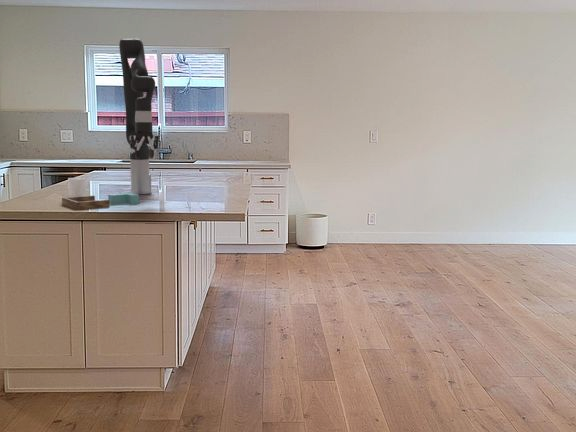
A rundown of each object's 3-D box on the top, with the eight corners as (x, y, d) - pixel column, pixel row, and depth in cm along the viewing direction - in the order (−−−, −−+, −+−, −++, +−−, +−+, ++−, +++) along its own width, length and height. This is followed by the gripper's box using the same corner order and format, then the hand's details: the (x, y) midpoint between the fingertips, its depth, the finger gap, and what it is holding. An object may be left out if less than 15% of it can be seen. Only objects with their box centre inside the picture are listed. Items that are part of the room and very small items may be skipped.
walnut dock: (93, 202, 277) (93, 195, 276) (109, 206, 264) (109, 200, 263) (62, 204, 268) (61, 197, 268) (76, 209, 255) (76, 202, 254)
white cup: (90, 199, 285) (89, 178, 283) (79, 201, 278) (78, 179, 276) (76, 198, 288) (75, 177, 286) (64, 200, 280) (64, 178, 279)
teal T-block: (127, 200, 284) (127, 192, 284) (139, 203, 275) (139, 194, 274) (104, 202, 277) (104, 193, 277) (115, 205, 268) (115, 196, 268)
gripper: (154, 121, 285) (155, 157, 288) (125, 121, 276) (126, 158, 279) (162, 121, 279) (162, 158, 282) (132, 121, 270) (133, 159, 273)
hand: (144, 158), depth 280 cm, fingers open, 6 cm apart
